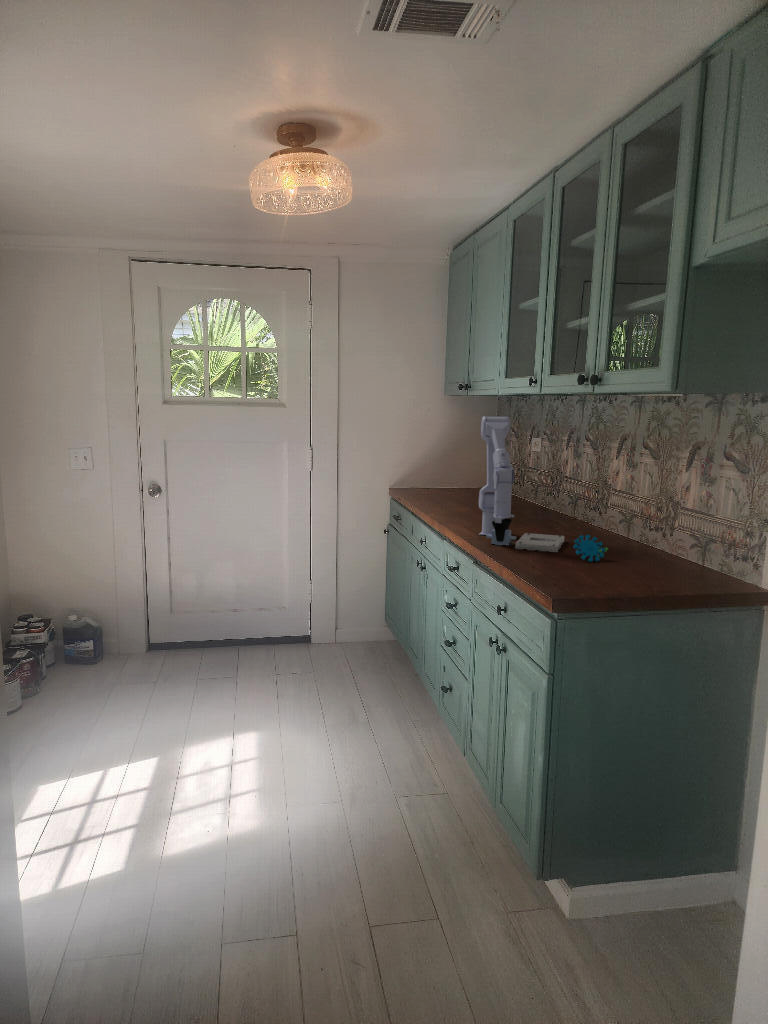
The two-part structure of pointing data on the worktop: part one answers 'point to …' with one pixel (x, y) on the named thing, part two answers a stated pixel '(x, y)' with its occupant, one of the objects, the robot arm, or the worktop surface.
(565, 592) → the worktop surface
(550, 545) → the plate
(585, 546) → the gear
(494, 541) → the servo
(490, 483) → the robot arm
